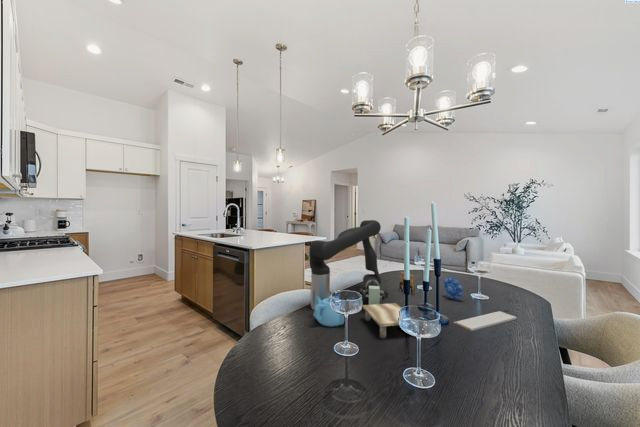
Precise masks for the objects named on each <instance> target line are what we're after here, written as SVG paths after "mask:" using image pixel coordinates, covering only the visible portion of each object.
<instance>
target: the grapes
mask: <svg viewBox="0 0 640 427" xmlns="http://www.w3.org/2000/svg"><path fill="white" fill-rule="evenodd" d="M443 281H444V283H442V288H444V294H446V295H447V296H449V298H450V299H451V300H456V301H460V300H461V298H463V297H464V295H465V294H464V292H463V291H464V287H463V286H462V285H461V284H460V281H459V280H458V279H454V278H453V277H452V276H449V277H448V278H444V280H443Z"/></svg>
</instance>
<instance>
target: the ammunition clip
mask: <svg viewBox="0 0 640 427" xmlns="http://www.w3.org/2000/svg"><path fill="white" fill-rule="evenodd" d="M404 273H405V271H402V270H401V271H400V277H399V279H400V280H399V289H401V290H402V291H401V292H403V279H404ZM409 274H410V288H411V294H416V293H415V280H414V274H413V273H409ZM411 294H410V295H411Z"/></svg>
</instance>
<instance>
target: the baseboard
mask: <svg viewBox="0 0 640 427" xmlns="http://www.w3.org/2000/svg"><path fill="white" fill-rule="evenodd" d="M498 310H500V311H498ZM498 310H495V311H494V312H491V313H486V314H483V315H478V316H474V317H469V318H466V319H461V320H457V321H453V324H454V325H457V326H459V327H461V328H463V329H465V330H468V331H470V332H474V331H477V330H480V329H484V328H488V327H492V326H496V325H500V324H503V323H507V322H510V321H513V320H517V314H515V315H512V314H510V311H509V310H505V309H504V310H502V309H499V308H498Z"/></svg>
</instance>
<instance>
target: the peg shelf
mask: <svg viewBox="0 0 640 427" xmlns="http://www.w3.org/2000/svg"><path fill="white" fill-rule="evenodd" d="M362 305H363V306H361V308H363V310H364V311H365V315H364V316H365V319H364V320H365V321H366V322H371V321H372V319H373V321H374V322H375V323H376V324H377V325H378V326H379V338H380V339H386V338H387V327H391V326H392V327H394V326H400V325H399V324H398V318H399V311H400V309H401V308H402V307H401V306H400V305H399V304H397V303H396V302H394V303H392V302H391V303H380V304H374V305H369V304H362Z"/></svg>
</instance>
